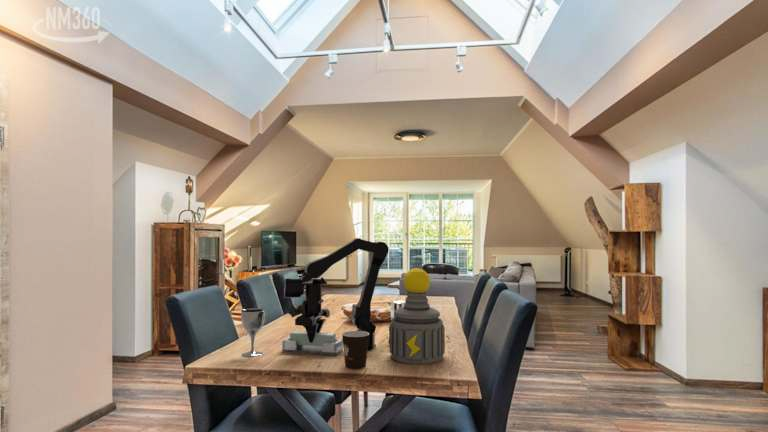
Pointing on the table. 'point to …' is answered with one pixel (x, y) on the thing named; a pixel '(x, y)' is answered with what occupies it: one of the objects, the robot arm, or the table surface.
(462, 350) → the table surface
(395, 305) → the beer glass
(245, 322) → the wine glass
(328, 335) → the rail
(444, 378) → the table surface
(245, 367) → the table surface
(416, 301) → the decorative lamp
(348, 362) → the coffee mug
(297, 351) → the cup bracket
